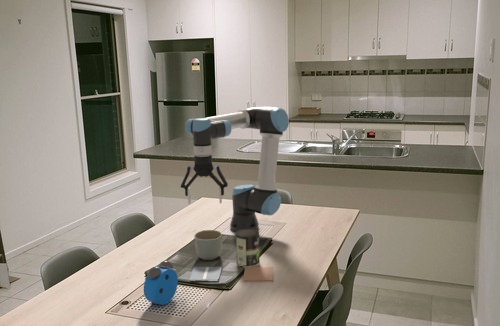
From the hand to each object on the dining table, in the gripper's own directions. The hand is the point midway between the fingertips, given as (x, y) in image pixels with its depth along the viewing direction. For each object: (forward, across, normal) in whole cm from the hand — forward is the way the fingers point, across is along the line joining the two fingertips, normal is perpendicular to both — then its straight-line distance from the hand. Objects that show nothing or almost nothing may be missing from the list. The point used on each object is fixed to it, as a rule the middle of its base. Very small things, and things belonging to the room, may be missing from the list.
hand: (205, 202), depth 202 cm
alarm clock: (+27, -13, -37) cm, 47 cm away
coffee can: (+27, +18, -3) cm, 33 cm away
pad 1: (+27, +1, -15) cm, 31 cm away
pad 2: (+27, +23, -16) cm, 38 cm away
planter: (+27, 0, +3) cm, 27 cm away
